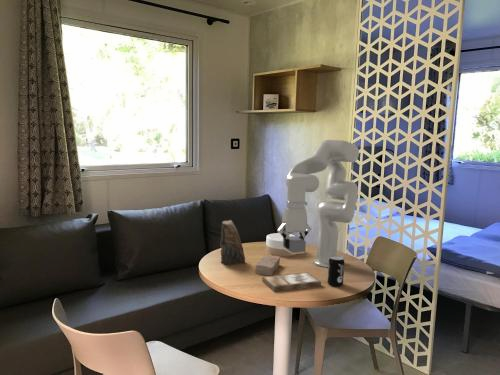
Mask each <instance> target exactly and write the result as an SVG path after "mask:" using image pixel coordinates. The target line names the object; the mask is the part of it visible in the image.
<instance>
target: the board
mask: <svg viewBox="0 0 500 375" xmlns="http://www.w3.org/2000/svg"><path fill="white" fill-rule="evenodd" d="M261 280H262V281H261V282H262V283H263V284H264V285H265V286H267V287H268V288H269V289H270V290H271V291H272V292H273V293H275V292H282V291H291V290H299V289H300V290H301V289H308V288H317V287H321V286H322V281H321V280H320V279H318V278H317V277H315V276H313V275H312V274H310V273H309V272H306V271H305V272H297V273H288V274H287V273H286V274H277V275H271V276H269V275H266V276H262V278H261Z"/></svg>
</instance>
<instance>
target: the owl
mask: <svg viewBox="0 0 500 375" xmlns="http://www.w3.org/2000/svg"><path fill="white" fill-rule="evenodd" d="M220 229H221V230H220V231H221V234H220V235H219V238H220V240H219V241H220V245H219V246H220V256H221V257H220V259H221V261H220V263H221V264H222V265H224V266H225V265H228V266H232V265H239V264H240V263H241V264H245V263H246V256H245V252H244V247H243V244H242V241H241V237H240V234H239V231H238V229H237V226H235V223H234V221H232V219H229V220H223V221H221V226H220Z"/></svg>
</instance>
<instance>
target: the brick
mask: <svg viewBox="0 0 500 375" xmlns="http://www.w3.org/2000/svg"><path fill="white" fill-rule="evenodd" d="M280 261H281V256H276V255H262V257H261V258H260V259H259V261H257V262H256V264H255V268H254V273H255V274H257V275H262V276H274V275H273V274H274V273H275V272H276V271H277V269H278V267H279V266H280V263H281V262H280Z"/></svg>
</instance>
